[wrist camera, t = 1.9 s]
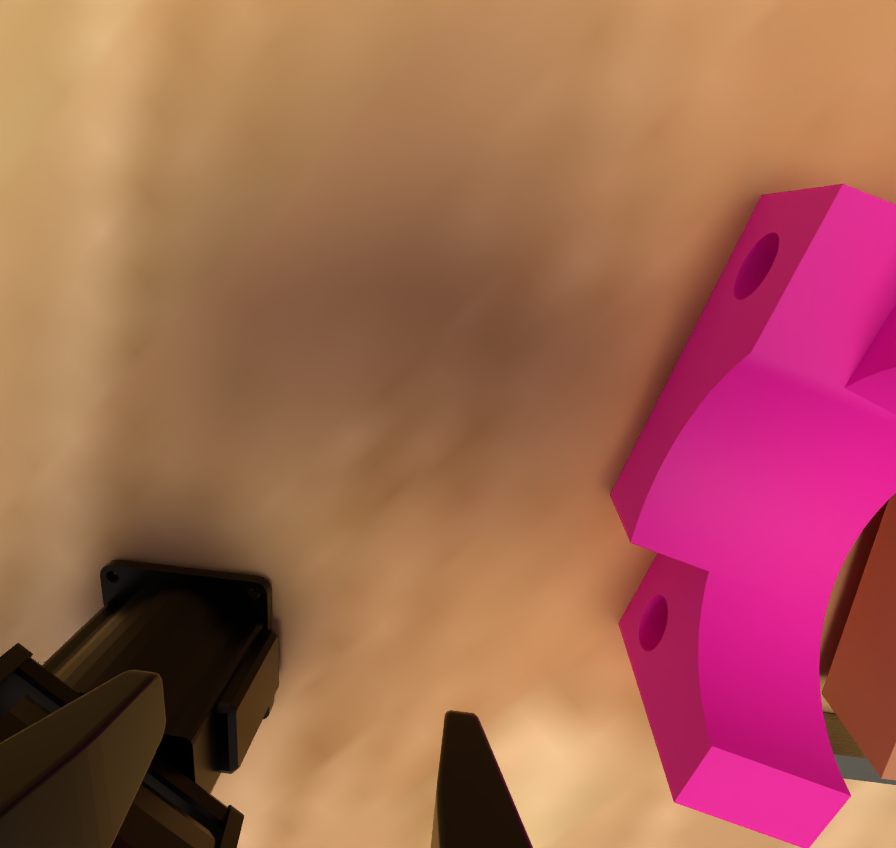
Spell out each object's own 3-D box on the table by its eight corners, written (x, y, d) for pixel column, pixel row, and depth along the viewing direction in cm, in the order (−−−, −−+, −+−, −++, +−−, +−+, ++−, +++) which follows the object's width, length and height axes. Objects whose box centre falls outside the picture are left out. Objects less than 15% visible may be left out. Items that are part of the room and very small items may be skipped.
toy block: (758, 195, 18) (937, 170, 10) (950, 271, 18) (1254, 297, 11) (555, 598, 22) (583, 770, 15) (709, 653, 22) (807, 849, 15)
